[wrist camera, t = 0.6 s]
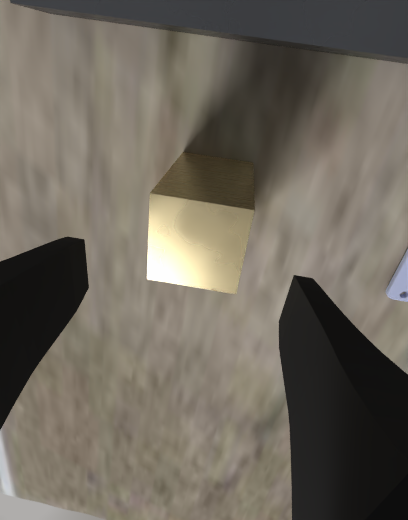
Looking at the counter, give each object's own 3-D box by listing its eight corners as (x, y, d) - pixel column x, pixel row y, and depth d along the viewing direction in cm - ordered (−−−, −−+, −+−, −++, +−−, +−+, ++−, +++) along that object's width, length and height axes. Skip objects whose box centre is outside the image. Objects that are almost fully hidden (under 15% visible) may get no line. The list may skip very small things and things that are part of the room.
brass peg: (253, 162, 18) (254, 210, 12) (240, 226, 20) (236, 294, 14) (183, 152, 18) (149, 193, 12) (177, 216, 20) (147, 278, 14)
